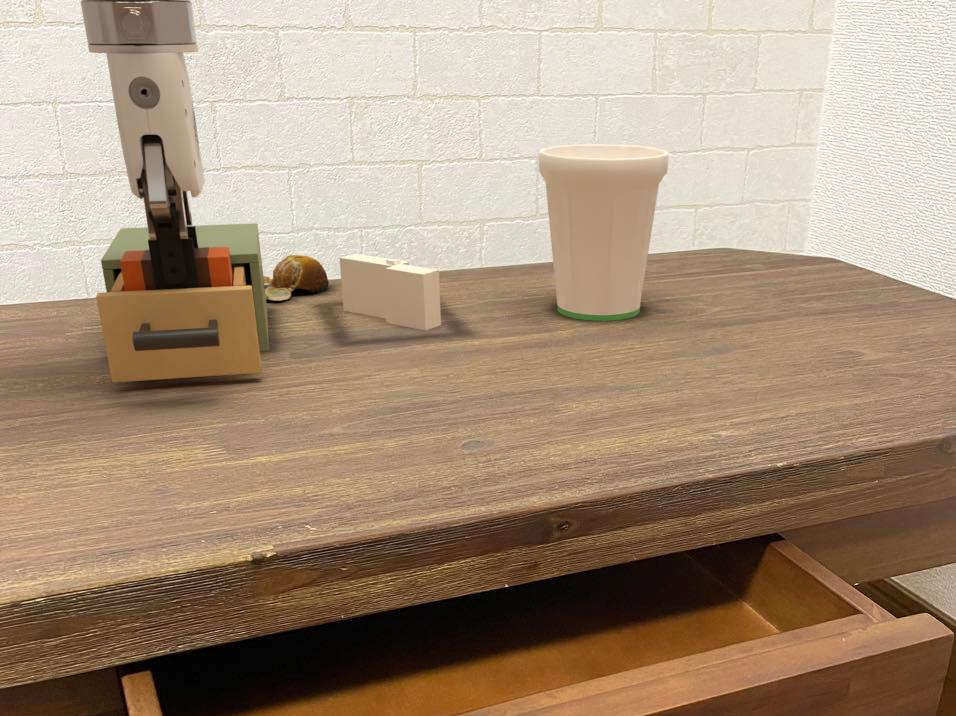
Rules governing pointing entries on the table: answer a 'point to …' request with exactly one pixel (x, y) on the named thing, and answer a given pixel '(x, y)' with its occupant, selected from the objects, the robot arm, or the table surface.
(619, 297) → the cup
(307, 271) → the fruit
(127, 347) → the drawer
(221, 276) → the chocolate bar
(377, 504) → the table surface
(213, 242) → the cabinet
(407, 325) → the napkin holder
